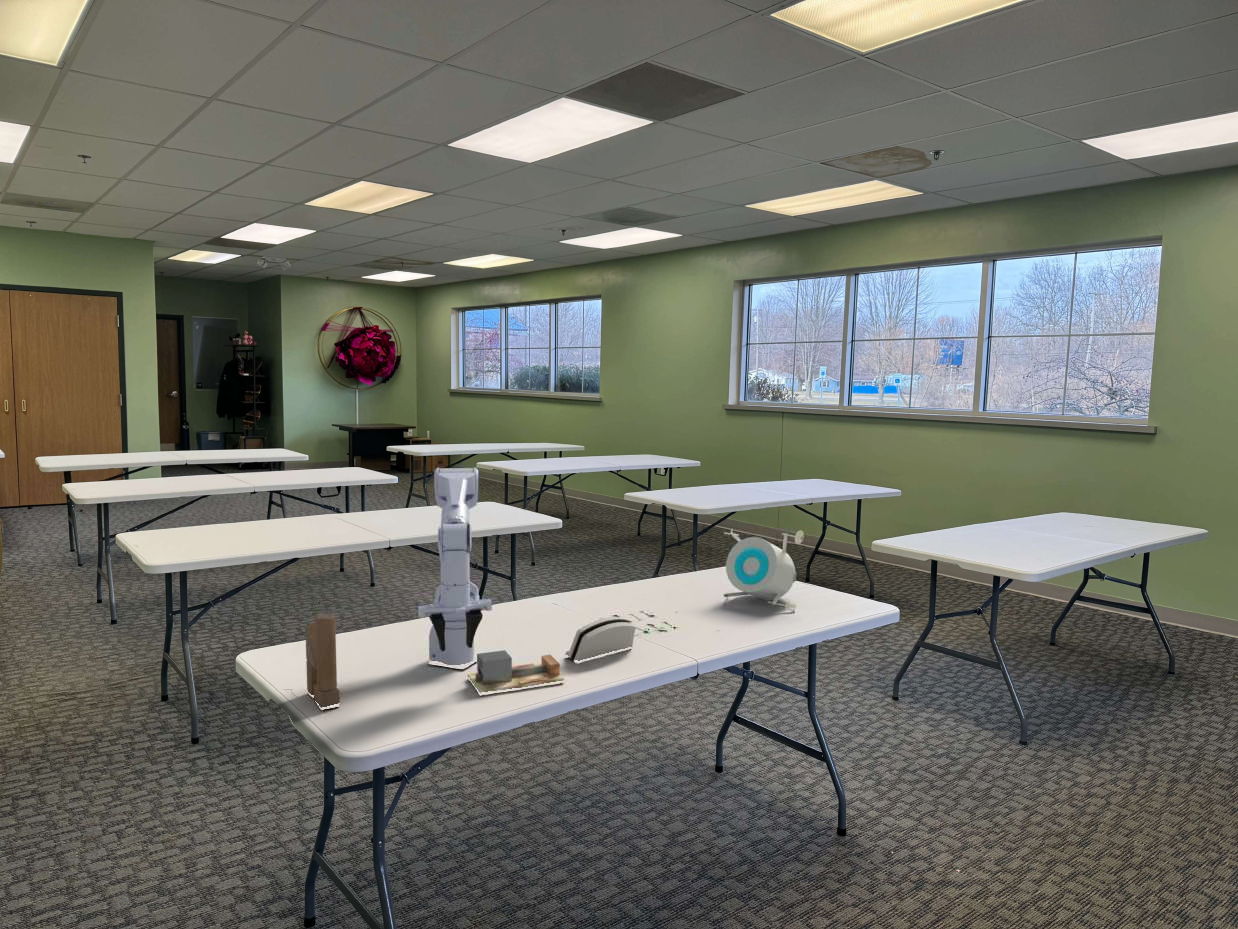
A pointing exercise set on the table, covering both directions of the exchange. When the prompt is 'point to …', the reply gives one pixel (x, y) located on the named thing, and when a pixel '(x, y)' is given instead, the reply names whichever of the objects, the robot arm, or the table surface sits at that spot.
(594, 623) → the grey rounded block
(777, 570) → the satellite
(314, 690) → the wooden block
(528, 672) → the rail
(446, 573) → the robot arm
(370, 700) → the table surface
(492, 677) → the clip
